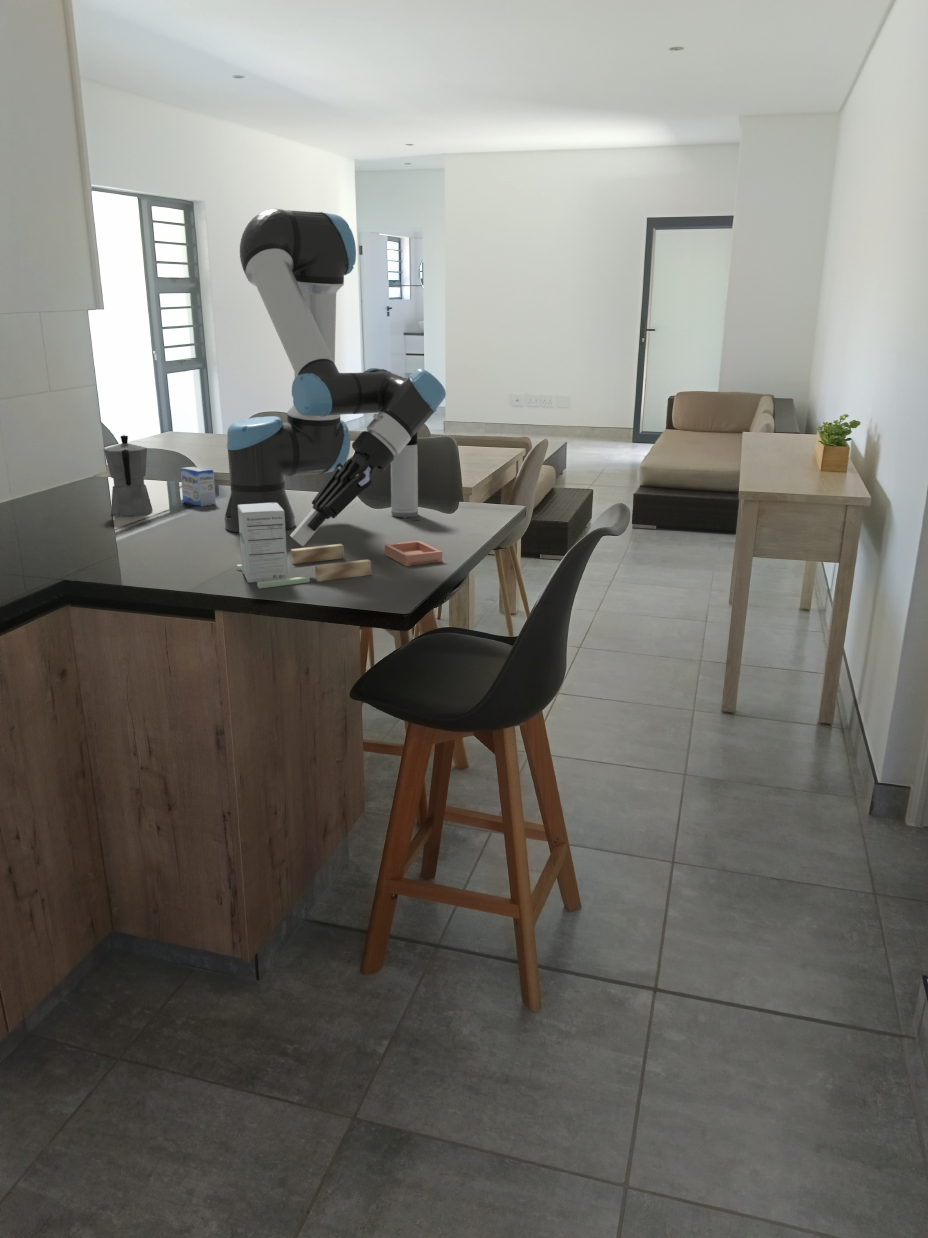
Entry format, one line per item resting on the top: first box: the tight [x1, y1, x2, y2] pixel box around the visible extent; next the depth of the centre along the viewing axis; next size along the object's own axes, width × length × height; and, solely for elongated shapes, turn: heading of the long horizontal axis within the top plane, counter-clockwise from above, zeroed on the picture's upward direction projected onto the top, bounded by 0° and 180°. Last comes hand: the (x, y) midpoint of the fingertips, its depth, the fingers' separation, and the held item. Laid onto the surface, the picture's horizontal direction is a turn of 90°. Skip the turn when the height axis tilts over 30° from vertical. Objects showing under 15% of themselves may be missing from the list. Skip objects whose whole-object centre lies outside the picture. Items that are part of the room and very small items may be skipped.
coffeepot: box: [103, 434, 153, 517], centre depth 213 cm, size 15×9×18 cm, turn 19°
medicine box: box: [180, 466, 217, 507], centre depth 227 cm, size 8×4×9 cm, turn 50°
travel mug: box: [390, 431, 419, 519], centre depth 214 cm, size 6×7×20 cm
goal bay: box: [235, 563, 311, 589], centre depth 165 cm, size 9×14×1 cm, turn 29°
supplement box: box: [238, 503, 289, 584], centre depth 163 cm, size 7×7×13 cm
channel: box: [290, 543, 372, 582], centre depth 170 cm, size 10×15×2 cm, turn 29°
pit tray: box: [383, 540, 443, 567], centre depth 178 cm, size 8×10×2 cm
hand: (296, 540), depth 166 cm, fingers closed
